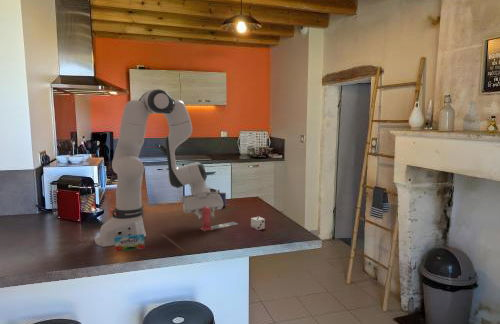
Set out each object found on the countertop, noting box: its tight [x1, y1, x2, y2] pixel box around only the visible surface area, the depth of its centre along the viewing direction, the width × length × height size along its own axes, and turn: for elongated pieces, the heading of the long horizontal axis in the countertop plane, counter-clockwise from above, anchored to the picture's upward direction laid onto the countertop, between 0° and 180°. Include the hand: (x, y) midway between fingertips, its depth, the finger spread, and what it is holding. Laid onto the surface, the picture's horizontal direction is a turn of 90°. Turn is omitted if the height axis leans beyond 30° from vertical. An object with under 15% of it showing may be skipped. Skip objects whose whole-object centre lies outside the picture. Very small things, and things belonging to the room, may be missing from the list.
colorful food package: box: [114, 234, 146, 253], centre depth 150 cm, size 12×2×6 cm, turn 108°
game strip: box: [200, 221, 238, 232], centre depth 179 cm, size 22×12×1 cm, turn 125°
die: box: [250, 216, 266, 231], centre depth 179 cm, size 5×5×5 cm
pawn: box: [201, 206, 212, 231], centre depth 174 cm, size 5×5×11 cm
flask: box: [217, 189, 227, 208], centre depth 220 cm, size 9×3×11 cm, turn 87°
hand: (206, 217), depth 173 cm, fingers open, 5 cm apart
